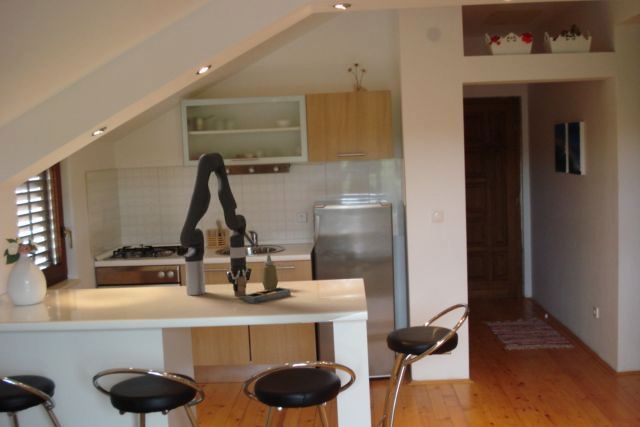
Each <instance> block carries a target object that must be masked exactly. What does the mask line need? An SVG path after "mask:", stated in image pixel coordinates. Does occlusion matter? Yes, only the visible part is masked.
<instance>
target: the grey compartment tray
mask: <svg viewBox="0 0 640 427" xmlns="http://www.w3.org/2000/svg"><path fill="white" fill-rule="evenodd" d="M291 291H292V290H291V289H289V288H284V287H276V288H274V289H269V290H265V289H263V290H260V291H256V292H252V293H246V295H243V297H242V302H243V303H248V304H252V305H257V304H261V303H265V302H270V301H274V300H279V299H282V298H287V297H291V296H292V294H291Z"/></svg>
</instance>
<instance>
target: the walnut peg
mask: <svg viewBox="0 0 640 427" xmlns="http://www.w3.org/2000/svg"><path fill="white" fill-rule="evenodd" d="M234 277H235V276H234ZM235 278H236V277H235ZM237 286H238V292H235V291H234V290H233V292H234V293H233V295H234V297H236V298H243V295H246V294H247V291H246V290H247V286H246V287H245V276H239V277H238V280H237Z"/></svg>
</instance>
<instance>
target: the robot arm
mask: <svg viewBox="0 0 640 427" xmlns="http://www.w3.org/2000/svg"><path fill="white" fill-rule="evenodd" d="M224 161H225V160H224V159H223V156H222V154H220V153H219V152H216V151H215V152H208V153H203V154H202V155H200V157H199V160H198V163H197V171H196V176H195V182H194V186H193V191H192V193H191V194H192V195H191V198H190V202H189V205H188V206H189V207H188V211H187V215H186V218H185V222H184V224H183V227H182V229H181V231H180V235H179V241H180V242H179V243H180V245H181V246H182V248H184V249H190V248H191V249H190V250H189V252H187V253H185V255H184V263H185V284H186V285H185V287H186V294H187V295H188V296H199V295H204V294H206V293H207V292H206V279H205V278H206V277H205V266H204V265H205V263H204V256H205V236H204V233H203V231H202V230H201V228H197V225H198V224H199V222H200V221H201V219H203V217H204V216H205V215H206V213H207V212H208V209H209V206H210V205H211V204H210V203H211V197H212V194H211V190H210V187H209V183H210V182H209V181H210V178H211V175H212V173H214V174H215V176H216V180H217V197H218V200H219V202H220V206H221V208H222V210H223V216H224V223H225V225H226V227H227V228H228V229H229V230H230V231H232V234H231V236H230V237H229V248H230V249H229V258H230V259H229V260H230V261H229V262H230V267H231V268H230V270H229V271H227V272H225V276H226V278H227V280H228V283H229V284H232V288H233V289H232V290H233V292H234V291H235V292H238V286H237V280H238V277H239V276H245V287H246V288H247V282H248V281H250V279H251V278H250V277H251V273H252V268H251V267H250V268H249V267H247V255H246V253H247V252H246V245H245V236H246V229H247V219H246V218H245V216H244V215H243V214H239V213H238V214H237V213H236V209H237V208H238V204H237V202H236V200H235V196H234V194H233V192H232V191H233V190H232V189H231V186H230V182H229V177H228V174H227V169H226V165H225V162H224ZM234 276H235V277H236V278H235V277H234Z"/></svg>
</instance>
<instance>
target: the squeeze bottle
mask: <svg viewBox="0 0 640 427" xmlns="http://www.w3.org/2000/svg"><path fill="white" fill-rule="evenodd" d="M266 256H267V257H266V261H264V265H263V267H262V285H263V288H264V290H269V289H274V288H278V287H277V286H278V284H279V281H278V274H277V267H276V265H274V261H273V260H272V258H271V255H270V254H269V253H268V254H267V255H266Z"/></svg>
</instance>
